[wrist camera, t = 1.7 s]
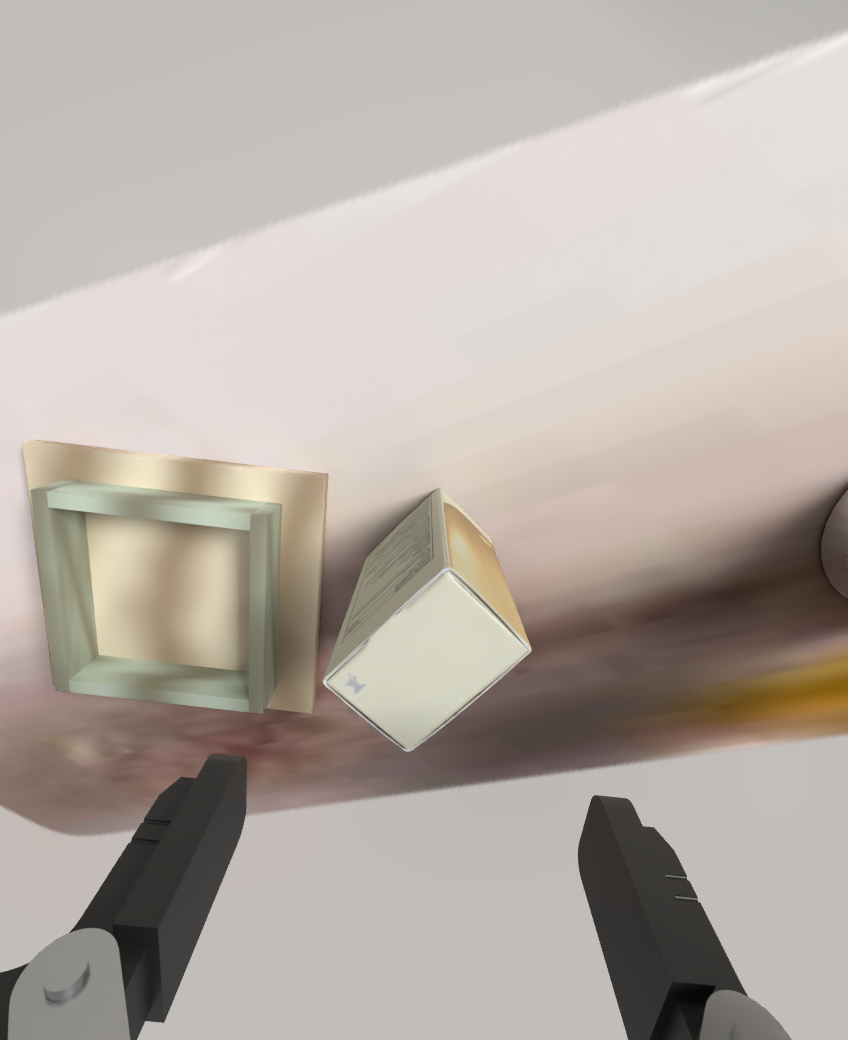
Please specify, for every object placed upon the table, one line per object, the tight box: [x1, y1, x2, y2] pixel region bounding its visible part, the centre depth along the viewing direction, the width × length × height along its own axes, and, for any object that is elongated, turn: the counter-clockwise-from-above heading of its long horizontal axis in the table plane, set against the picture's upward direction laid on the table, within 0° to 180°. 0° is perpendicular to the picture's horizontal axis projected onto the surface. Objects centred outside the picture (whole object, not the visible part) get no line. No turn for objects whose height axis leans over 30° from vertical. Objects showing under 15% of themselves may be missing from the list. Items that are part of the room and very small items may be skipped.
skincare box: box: [323, 488, 531, 752], centre depth 22 cm, size 6×4×12 cm
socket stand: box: [22, 440, 328, 714], centre depth 27 cm, size 16×15×4 cm
